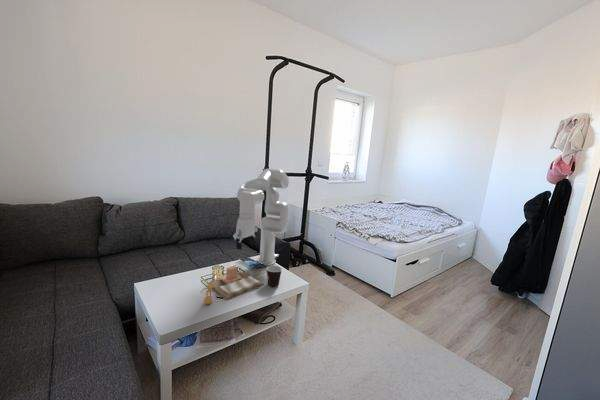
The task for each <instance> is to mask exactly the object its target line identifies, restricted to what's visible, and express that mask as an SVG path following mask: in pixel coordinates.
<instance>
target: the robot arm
mask: <svg viewBox="0 0 600 400" xmlns="http://www.w3.org/2000/svg"><path fill="white" fill-rule="evenodd" d="M289 184H290V180H289V177H288V175H287V174H286V172H285V171H284V170H282V169H275V168H265V169H263V170H262V171H261V173H260V174H259V175H258V177H257V178H253V179H251V180H249V181H246V182H244V183H243V184H242V185H240V187H239V189H238V190H237V193H236V198H237V200H238V201H239V217H238V219H237V222H236V228H235V229H236V230H235V233H233V236H232V237H233V239H234V241H235V243H236V244H235V249H236V250H239V251H241V250H242V249H243V248H242V247H243V246H242V245H243V242H242V240H244V239H245V238H248V237H249V238H248V239H249V240H248V244H249V245H252V246H254V245H255V240H256V239H255V238H256V235H257V232H258V229H259V228H258V227H256V219H255V211H256V209H255V208H256V207H255V205H258V204H259V205H260V204H261V203H262V202H263V201H265V203H264V204H265V205H264V213H265V214H267V215H268V216H264V217H262V218H261V219H260V223H259V225H260V247H259V257H258V258H257V259H256V260H257V261H258V262H260V263H262V264H264V265H263V266H271V265H275V264H277V263H276V261H277V260H276V258H278V257H279V256H280V254H278V253H276V254H275V247H276V246H275V245H276V236H275V234H274V233H278V234H284V233H285V232H286V229H287V228H288V227H287V226H288V218H289V210H290V209H289V207H290V206H289V204H288V202H287V203H286V202H283V201H279V198H280V193H279V190H278V189H282V190H283V189H287V188H288V187H289ZM264 192H266V193H264ZM265 194H266V196H265ZM272 216H276V217H272ZM277 217H278V218H277ZM279 217H280V218H279ZM258 262H257V263H258Z"/></svg>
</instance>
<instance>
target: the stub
mask: <svg viewBox="0 0 600 400" xmlns="http://www.w3.org/2000/svg"><path fill="white" fill-rule="evenodd" d="M225 274H226V275H224V276H222V277H220V279H219V280H222V281H223V282H225V283H226V284H228V283H231V282H234V281H236V280H239V279H242V277H241V276H240V275H238V266H235V265H233V266H229V267H227V268H226V273H225Z"/></svg>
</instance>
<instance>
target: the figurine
mask: <svg viewBox="0 0 600 400" xmlns="http://www.w3.org/2000/svg"><path fill="white" fill-rule="evenodd" d="M210 283H211V282H209V283H208V284H207V285H206V287H204V288H202V290H200V292H199V294H201V293H202V292H204V290H206V289H207V290H206V291H205V295H206V296H205V297H204V299H203V302H204V304H205V305H211V303H213V297H212V292H213V289H212V288H216V287H214V286H211V284H210ZM216 289H217V288H216ZM217 290H218V289H217ZM208 293H209V295H208Z"/></svg>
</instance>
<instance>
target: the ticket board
mask: <svg viewBox="0 0 600 400" xmlns="http://www.w3.org/2000/svg"><path fill="white" fill-rule="evenodd" d="M237 274H238V275H240V276H241V277H242V279H239V280H236V281H234V282H231V283H228V284H226V283H225V282H223V281H222V280H220V279H217V280H215V281H212V282H209V283H210V284H211V286H214V287H216V288H217V289H218V290H217V289H216V288H212V289H211V290H212V291H214V292H216V293H218V295H219V296H221V297H223V298H224V300H226V301H227V300H230V299H232V298H235V297H238V296H240V295H242V294H245V293H247V292H249V291H252V290H255V289H258V288H260V287H263V286H264V282H263V281H261V280H260V279H258V278H256V277H255V276H253V275H251V274H250V273H248V272H247V271H240V272H239V273H238V272H237Z"/></svg>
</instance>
